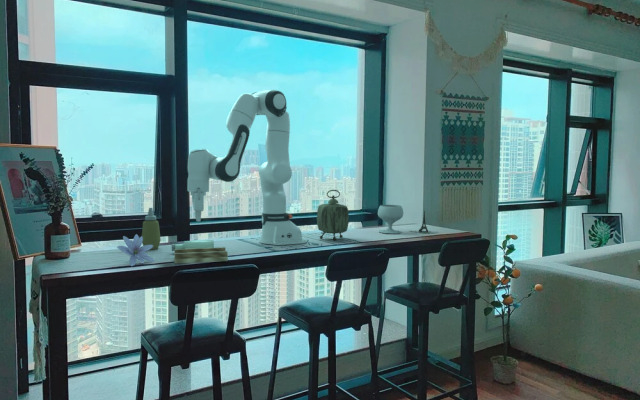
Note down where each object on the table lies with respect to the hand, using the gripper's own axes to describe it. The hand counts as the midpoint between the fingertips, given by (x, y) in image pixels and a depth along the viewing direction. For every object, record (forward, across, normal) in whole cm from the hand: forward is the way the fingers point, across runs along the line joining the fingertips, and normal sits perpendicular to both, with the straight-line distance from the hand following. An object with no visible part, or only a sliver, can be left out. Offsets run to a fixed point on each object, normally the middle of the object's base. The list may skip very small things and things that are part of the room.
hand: (197, 219), depth 206 cm
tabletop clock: (+13, +18, -67) cm, 70 cm away
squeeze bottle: (+14, +13, +19) cm, 27 cm away
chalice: (+12, +33, -105) cm, 110 cm away
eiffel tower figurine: (+12, +32, -124) cm, 129 cm away
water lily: (+15, -17, +23) cm, 32 cm away
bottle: (+14, 0, +2) cm, 14 cm away
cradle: (+14, -15, -1) cm, 20 cm away
